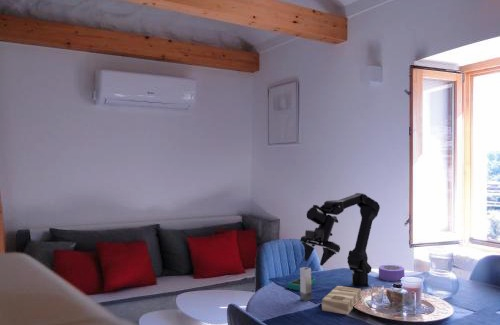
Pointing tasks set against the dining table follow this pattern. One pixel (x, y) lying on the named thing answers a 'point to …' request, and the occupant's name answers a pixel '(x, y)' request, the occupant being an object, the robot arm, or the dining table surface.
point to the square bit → (305, 283)
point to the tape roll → (391, 272)
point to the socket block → (341, 299)
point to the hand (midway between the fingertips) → (313, 263)
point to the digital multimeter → (297, 284)
